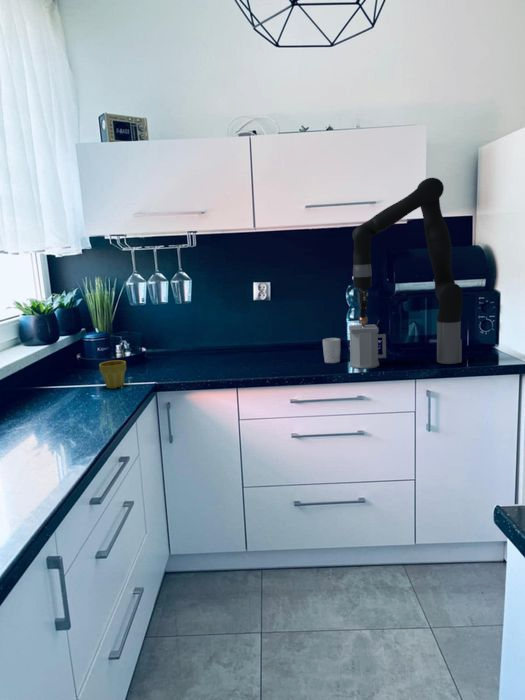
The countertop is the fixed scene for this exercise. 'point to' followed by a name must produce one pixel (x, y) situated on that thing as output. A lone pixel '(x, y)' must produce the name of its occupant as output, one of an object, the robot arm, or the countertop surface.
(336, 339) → the white cup
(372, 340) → the press
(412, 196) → the robot arm
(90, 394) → the countertop surface
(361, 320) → the plunger
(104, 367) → the plant pot
